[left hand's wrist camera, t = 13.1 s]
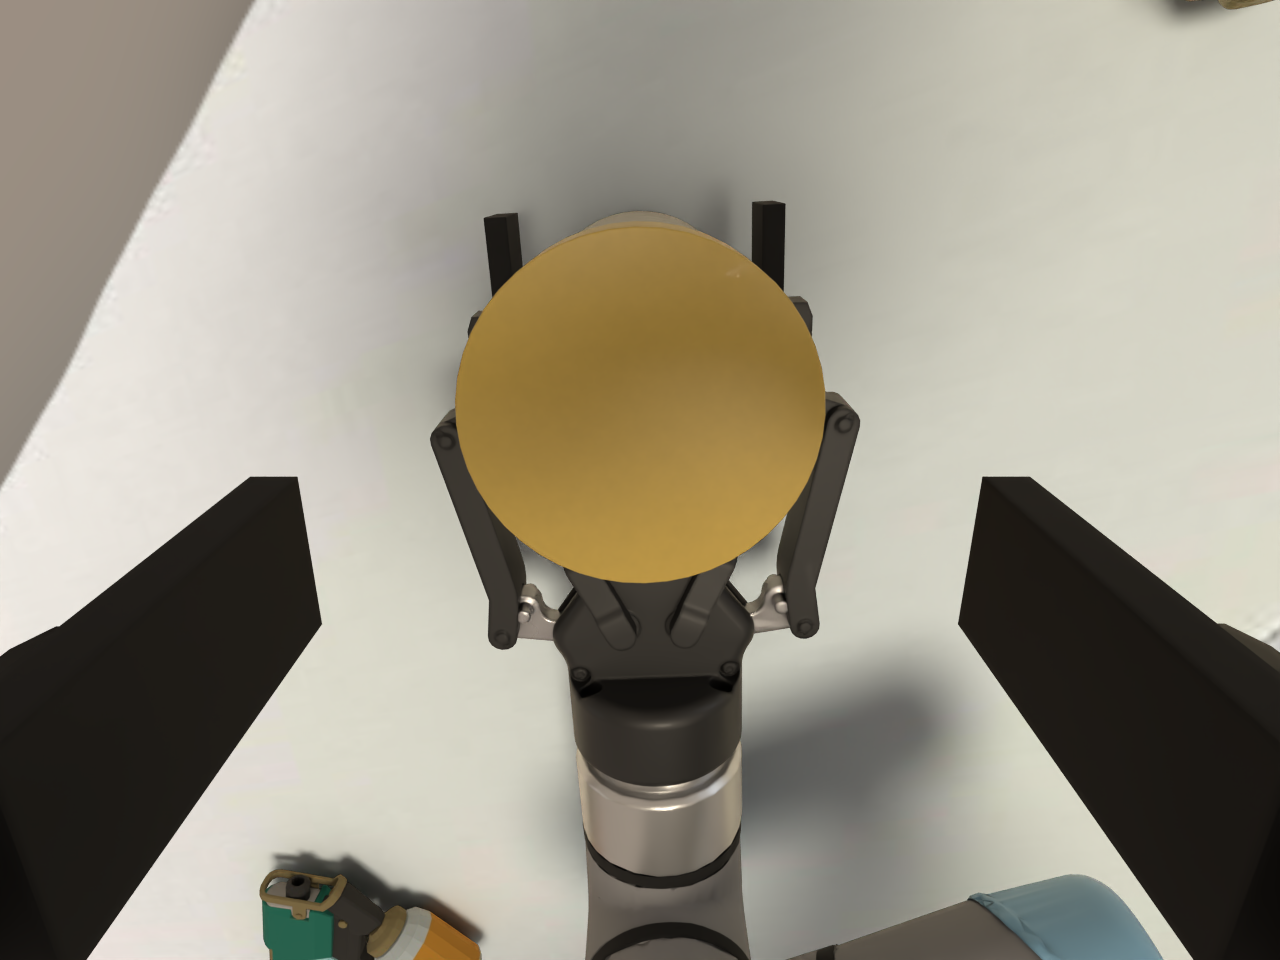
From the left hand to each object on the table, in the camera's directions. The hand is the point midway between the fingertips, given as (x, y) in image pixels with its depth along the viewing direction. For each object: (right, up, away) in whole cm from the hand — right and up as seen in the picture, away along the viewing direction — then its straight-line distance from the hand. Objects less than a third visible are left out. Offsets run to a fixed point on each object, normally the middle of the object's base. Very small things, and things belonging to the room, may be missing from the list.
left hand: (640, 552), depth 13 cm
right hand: (0, +11, +15) cm, 18 cm away
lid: (0, +3, +7) cm, 8 cm away
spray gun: (-17, -29, +37) cm, 50 cm away
